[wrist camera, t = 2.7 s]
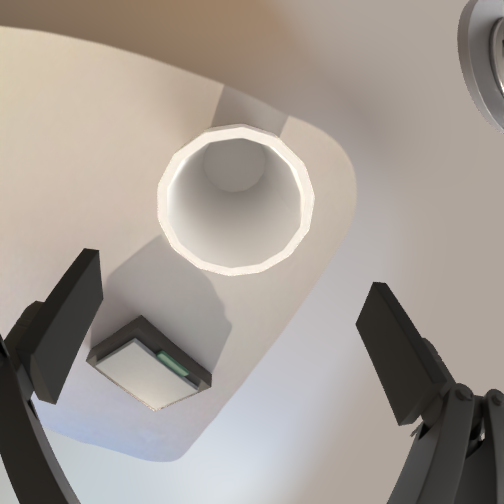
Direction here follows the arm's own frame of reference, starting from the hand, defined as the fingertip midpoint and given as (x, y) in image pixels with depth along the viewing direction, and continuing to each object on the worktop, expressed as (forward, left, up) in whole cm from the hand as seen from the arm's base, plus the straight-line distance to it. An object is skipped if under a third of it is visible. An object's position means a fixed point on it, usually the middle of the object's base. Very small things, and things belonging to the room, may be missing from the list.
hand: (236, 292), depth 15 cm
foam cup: (+2, -1, -19) cm, 19 cm away
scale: (-13, +25, -19) cm, 34 cm away
